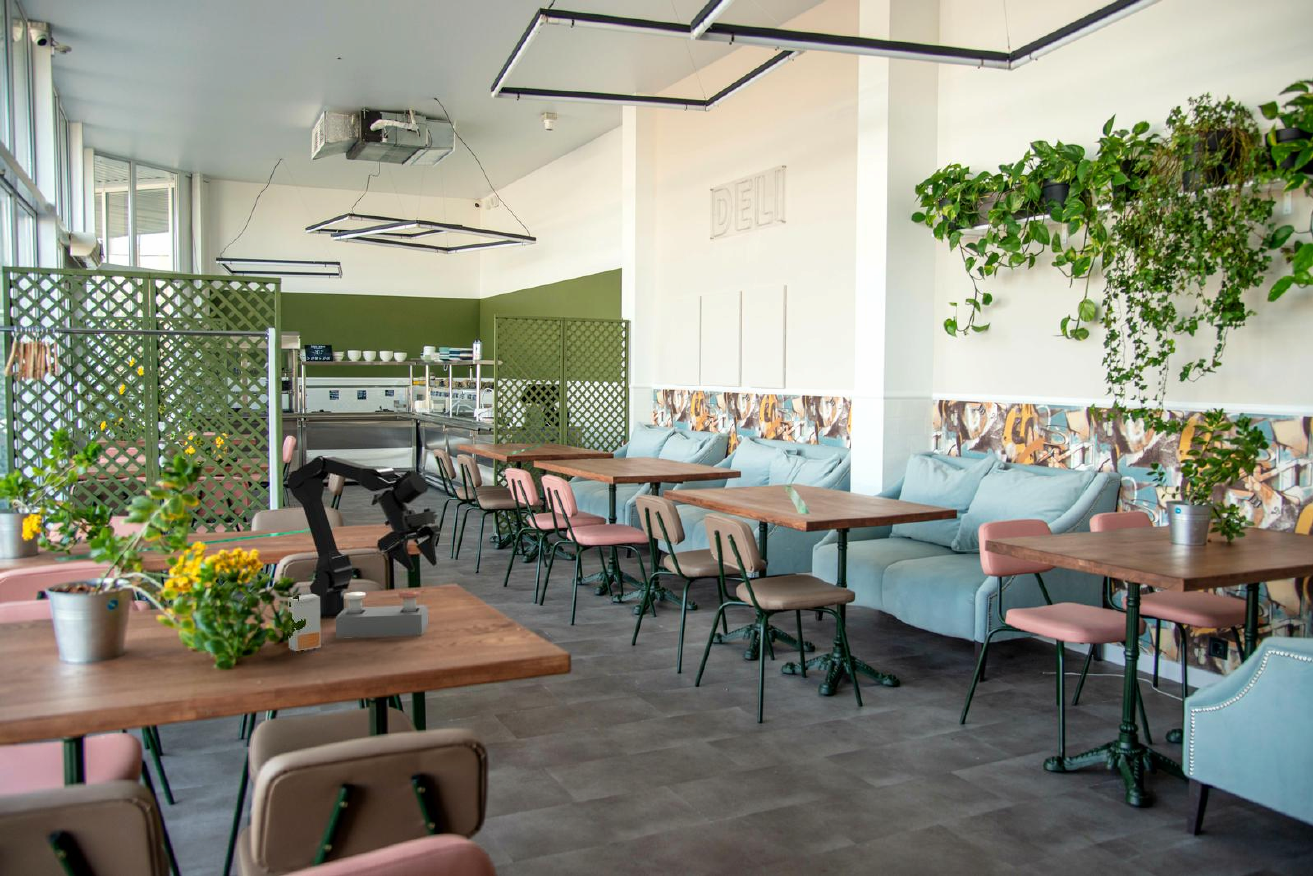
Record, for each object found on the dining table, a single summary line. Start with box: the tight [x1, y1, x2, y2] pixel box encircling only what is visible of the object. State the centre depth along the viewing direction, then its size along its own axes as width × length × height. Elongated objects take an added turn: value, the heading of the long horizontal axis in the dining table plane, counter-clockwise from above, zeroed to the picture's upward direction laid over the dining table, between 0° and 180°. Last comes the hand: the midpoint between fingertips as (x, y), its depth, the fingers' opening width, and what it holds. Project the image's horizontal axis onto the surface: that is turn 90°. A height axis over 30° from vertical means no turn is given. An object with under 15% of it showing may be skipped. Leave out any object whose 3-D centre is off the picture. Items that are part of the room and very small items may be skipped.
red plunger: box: [398, 589, 421, 613], centre depth 233 cm, size 5×5×5 cm
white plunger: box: [344, 591, 366, 614], centre depth 231 cm, size 5×5×5 cm
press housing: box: [335, 604, 429, 639], centre depth 232 cm, size 20×10×5 cm, turn 95°
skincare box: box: [287, 593, 322, 652], centre depth 218 cm, size 6×4×12 cm
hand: (424, 567), depth 236 cm, fingers open, 9 cm apart
